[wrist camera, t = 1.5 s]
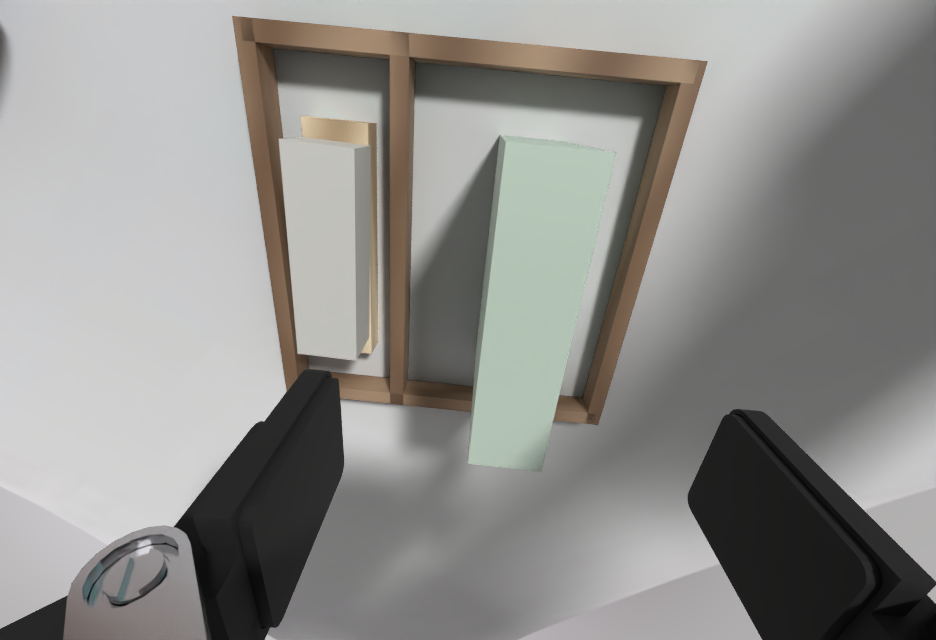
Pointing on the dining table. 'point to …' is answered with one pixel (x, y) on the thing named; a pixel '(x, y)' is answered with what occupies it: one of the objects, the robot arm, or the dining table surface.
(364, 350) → the pine offcut
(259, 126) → the rack
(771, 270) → the dining table surface
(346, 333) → the grey offcut
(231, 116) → the dining table surface
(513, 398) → the sage panel
